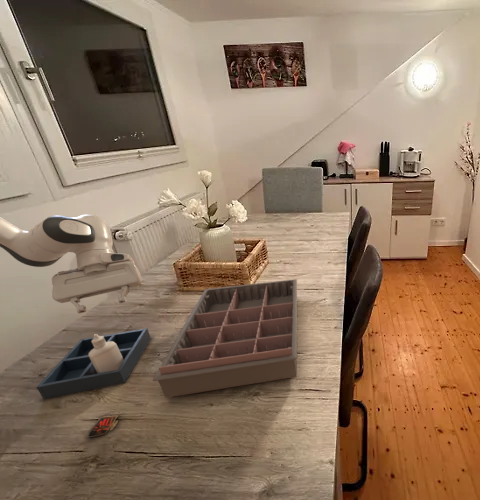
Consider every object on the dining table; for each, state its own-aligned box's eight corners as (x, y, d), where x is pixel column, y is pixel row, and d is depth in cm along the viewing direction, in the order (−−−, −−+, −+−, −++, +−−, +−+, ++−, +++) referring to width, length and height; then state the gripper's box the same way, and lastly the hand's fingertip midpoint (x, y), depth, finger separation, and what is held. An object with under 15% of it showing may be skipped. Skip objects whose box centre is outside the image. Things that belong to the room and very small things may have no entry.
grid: (43, 399, 68) (35, 387, 67) (86, 349, 84) (80, 339, 82) (125, 383, 72) (119, 371, 70) (151, 338, 88) (147, 328, 86)
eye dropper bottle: (124, 371, 75) (107, 335, 70) (97, 380, 72) (78, 343, 67) (127, 360, 78) (111, 326, 73) (101, 368, 76) (83, 333, 71)
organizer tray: (299, 297, 107) (296, 274, 103) (300, 382, 70) (296, 352, 66) (210, 307, 102) (203, 284, 98) (162, 405, 66) (148, 374, 62)
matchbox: (86, 440, 58) (85, 438, 58) (97, 418, 63) (97, 416, 63) (113, 432, 60) (112, 430, 60) (122, 411, 64) (121, 410, 64)
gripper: (45, 269, 78) (48, 316, 74) (133, 252, 87) (141, 293, 83) (57, 277, 83) (61, 321, 79) (140, 260, 93) (147, 299, 89)
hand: (102, 307), depth 81 cm, fingers open, 8 cm apart
